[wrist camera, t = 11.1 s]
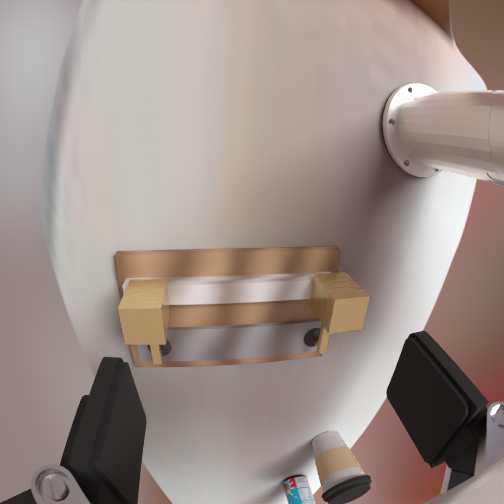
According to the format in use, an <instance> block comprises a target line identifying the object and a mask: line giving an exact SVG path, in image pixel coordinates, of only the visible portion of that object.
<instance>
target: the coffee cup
mask: <svg viewBox="0 0 504 504" xmlns="http://www.w3.org/2000/svg"><path fill="white" fill-rule="evenodd" d="M312 447H313V452H314V456H315V460H316V462H315V463H316V467H317V471H318V475H319V479H320V483H321V486H322V488H323V492H324V493H323V495H322V498H323V499H324V501H325V502H328V503H329V504H345V503H348V502H350V501H352V500H355V499H357V498H359V497H361V496H362V495H364V494H365V493H366V492H368V491H369V489H370V483H371V477H370V476H369V475H365V474H364V472H363V471H362V468H361V466H360V464H359V463H358V461H357V460H356V458H355V457H354V455H353V454H352V452H351V451H350V449H349V448H348V447H347V446H346V444H345V443H344V441H343V440H342V438H341V437H340V435H339V433H338V432H337V431H327V432H324V433H321V434H319V435H318V436H316V437H315V438H314V439H313V441H312Z"/></svg>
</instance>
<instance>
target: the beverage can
mask: <svg viewBox="0 0 504 504" xmlns="http://www.w3.org/2000/svg"><path fill="white" fill-rule="evenodd" d="M283 486H284V490H285V493H286V496H287V500H288V503H289V504H316V503H315V500H314V497H313V494H312V492H311V489H310V486H309V483H308V480H307V478H306V477H305V476H304V475H295V476H292V477H289V478H287V479H286V480H285V481H284V482H283Z"/></svg>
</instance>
